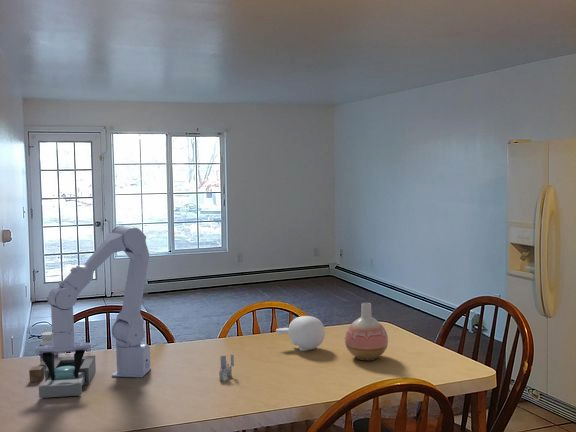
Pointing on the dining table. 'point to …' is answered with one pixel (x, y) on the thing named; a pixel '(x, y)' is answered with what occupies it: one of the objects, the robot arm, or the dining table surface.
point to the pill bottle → (46, 341)
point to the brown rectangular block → (36, 374)
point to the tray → (62, 386)
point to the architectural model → (225, 368)
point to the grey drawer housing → (85, 366)
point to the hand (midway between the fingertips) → (65, 377)
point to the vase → (366, 336)
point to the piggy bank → (305, 332)
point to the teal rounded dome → (64, 372)
